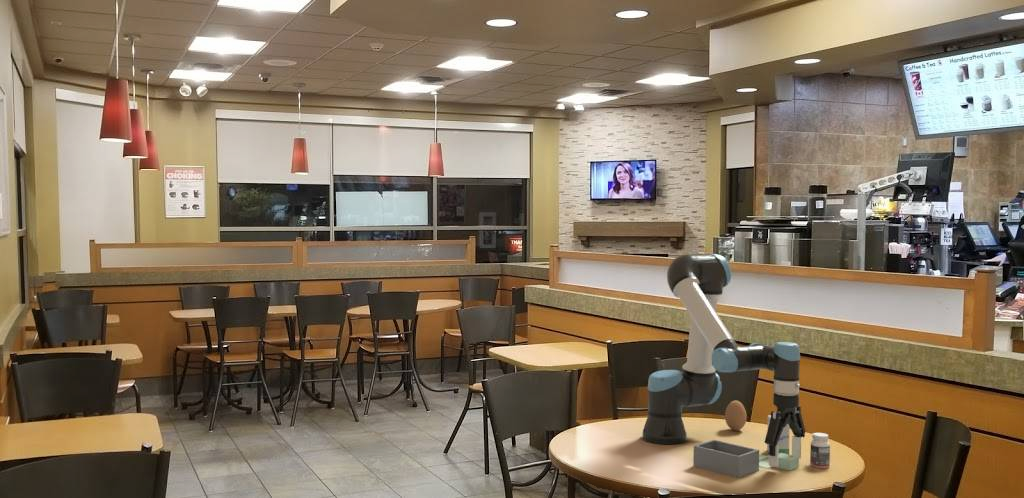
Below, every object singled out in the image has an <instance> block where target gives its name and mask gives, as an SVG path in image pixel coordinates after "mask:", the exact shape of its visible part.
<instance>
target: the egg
mask: <svg viewBox="0 0 1024 498" xmlns="http://www.w3.org/2000/svg"><path fill="white" fill-rule="evenodd" d="M724 421H725V422H726V425H727V426H728V428H729V429H730V430H732V431H735V432H736V431H737V432H738V431H740V430H742V429H743V428H744V427H745V425H746V423H747V411H746V409H745V406H744V404H742V402H740V401H739V400H732V401H730V403H729V404H728V405H727V406H726V409H725V413H724Z"/></svg>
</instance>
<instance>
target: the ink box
mask: <svg viewBox="0 0 1024 498" xmlns="http://www.w3.org/2000/svg"><path fill="white" fill-rule="evenodd" d="M770 419H771V414H770V415H769V414H768V415H767V427H768V426H769V423H770ZM790 430H791V428H790V426H789V424H787V425H786V427H784V428H783V431H782V433H781V436H780V438H779V441H778V443H777V445H779V453H783V454H788V455H790ZM766 450H767V451H768V452H769V444H766Z"/></svg>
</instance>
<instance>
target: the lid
mask: <svg viewBox="0 0 1024 498" xmlns="http://www.w3.org/2000/svg"><path fill="white" fill-rule="evenodd" d="M799 466H800V459H799V457H797V456H793V455H792V454H789V455H788V454H783V453H779V456H778V467H777V468H779V469H783V470H787V471H792V470H795V469H797V468H799ZM771 467H773V466H769V454H767V455H763V454H761V453H759V468H764V469H769V468H771Z"/></svg>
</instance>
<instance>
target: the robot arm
mask: <svg viewBox="0 0 1024 498" xmlns="http://www.w3.org/2000/svg"><path fill="white" fill-rule="evenodd" d="M666 271H667V272H666V280H667V284H668V287H669V289H670V291H671V293H672V294H673V296H674V297H675V298H678V299H679V300H680V301H681V303H682V305H683V306H684V307H685V309H686V311H687V312H688V314H689V316H690V321H689V322H690V323H689V335H688V345H687V346H688V347H687V359H686V362H685V363H684V364H683V365H682V366H681V371H680V370H677V369H662V370H657V371H655V372H653V373H651V374H650V375H649V377H648V384H647V418H646V421H645V424H644V427H643V429H642V439H643V440H644V441H646V442H648V443H653V444H657V445H658V444H659V445H679V444H682V443H686V441H687V440H688V438H687V437H688V436H687V431H686V428H685V424H684V420H683V415H682V414H683V408H689V407H699V406H701V407H705V406H706V405H712V404H714V403H715V402H717V401H718V399H719V398H720V396H721V393H722V388H723V387H722V381H721V380H720V379H721V378H720V375H719V374H718V373H717V372H719V373H734V372H741V371H742V372H744V371H754V370H755V371H756V370H766V371H771V372H773V388H772V389H773V394H772V395H773V396H772V397H773V398H772V399H773V402H772V403H773V405H774V406H775V407H776V411H770V415H771V419H770V423H769V426H768V425H767V431H766V434H765V439H764V444H766V445H767V444H769V451H768V455H769V466H772V467H775V468H778V456H779V445H777V443H778V441H779V438H780V436H781V433H782V431H783V428H784V427H786V425H787V424H789V426H790V430H791V432H792V434H793V435H791V455H793V456H797V457H799V460H800V459H801V458H802V438H805V436H806V429H805V424H804V421H803V415H802V409H801V408H802V407H801V406H800V395H799V393H800V387H801V385H800V371H801V370H800V369H801V368H800V363H801V354H800V353H801V352H800V349H801V348H800V345H799V344H798V343H795V342H792V341H791V342H789V341H777V342H775V343H774V345H773V346H771V345H768V344H764V343H755V342H753V343H751V344H748V345H745V346H739V345H738V343H737V342H736V341H735V339H734V337H733V336H732V335H731V333H730V331H729V330H728V328H727V327H726V325H725V324H724V322H723V321H722V319H721V318H720V316H719V315H718V313H717V306H718V298H719V297H721V296H722V295H723V290H724V289H723V288H725V287H727V286H728V285H729V283H730V282H731V279H732V269H731V266H730V264H729V262H728V260H727V259H726V258H725V257H724V256H722V255H721V254H717V253H691V254H689V253H687V254H686V253H684V254H681V255H678V256H677V257H675V258H674V259H672V261H671V262H670V264H669V266H668V268H667V270H666Z"/></svg>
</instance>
